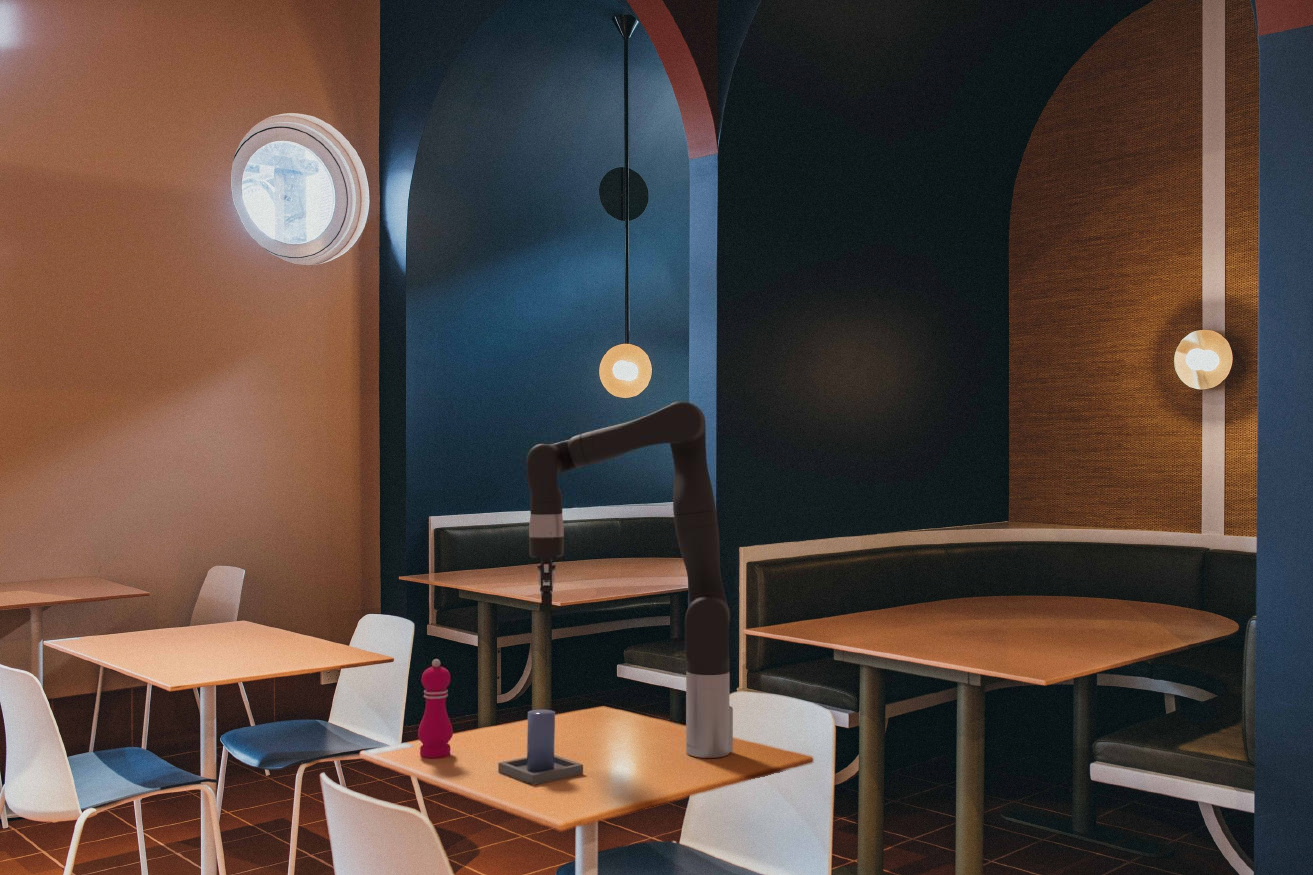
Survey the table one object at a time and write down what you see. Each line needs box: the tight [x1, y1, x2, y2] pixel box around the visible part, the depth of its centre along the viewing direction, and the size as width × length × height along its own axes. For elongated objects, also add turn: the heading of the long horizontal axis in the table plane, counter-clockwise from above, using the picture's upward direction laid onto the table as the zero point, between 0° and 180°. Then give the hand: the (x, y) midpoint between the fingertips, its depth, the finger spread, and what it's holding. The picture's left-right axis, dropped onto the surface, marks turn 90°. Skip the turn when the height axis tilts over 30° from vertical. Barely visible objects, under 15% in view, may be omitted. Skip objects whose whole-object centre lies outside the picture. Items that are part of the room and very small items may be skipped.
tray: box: [497, 754, 584, 786], centre depth 214 cm, size 12×12×2 cm
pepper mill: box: [417, 658, 454, 759], centre depth 228 cm, size 7×7×20 cm
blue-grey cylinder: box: [526, 709, 556, 772], centre depth 214 cm, size 5×5×11 cm
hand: (546, 609), depth 236 cm, fingers open, 8 cm apart
